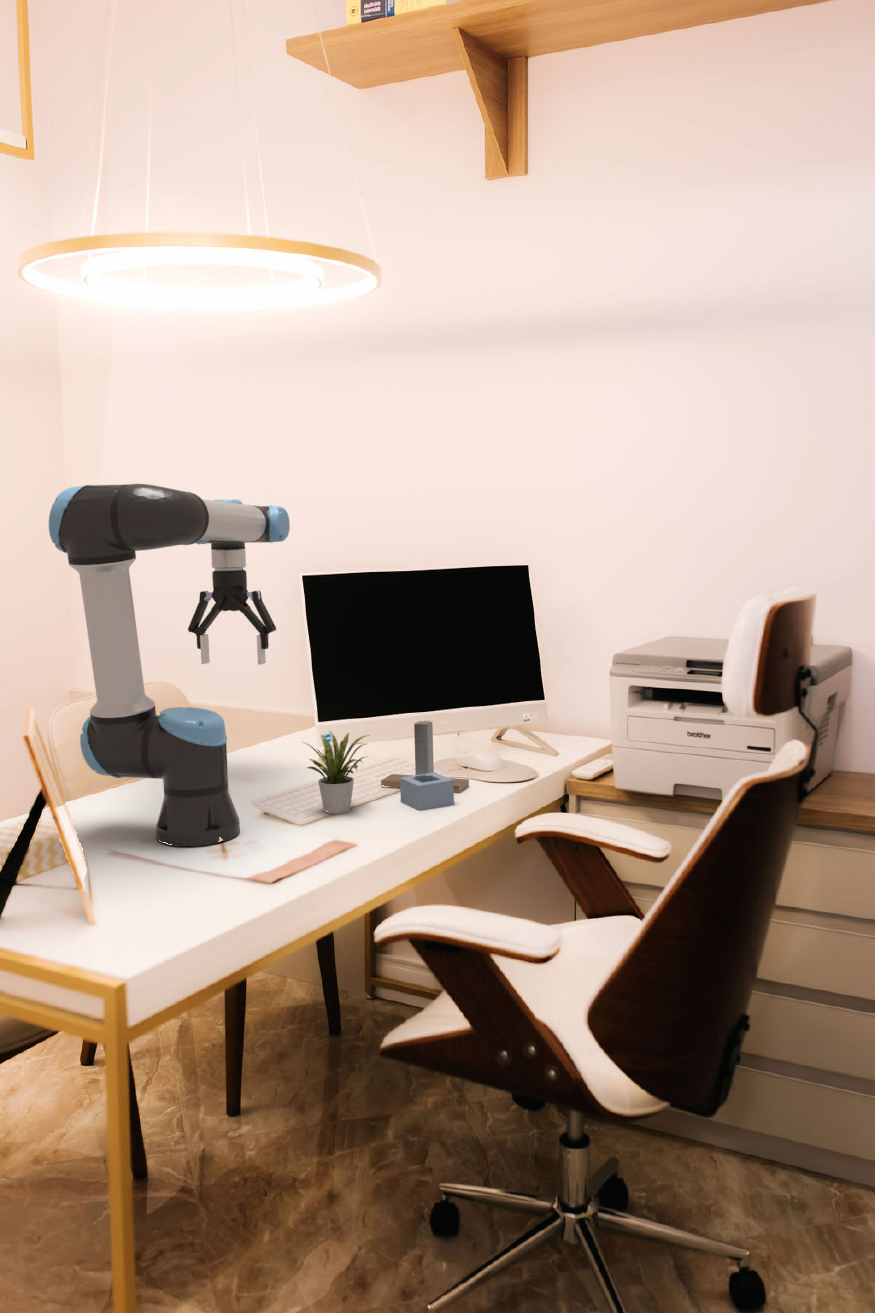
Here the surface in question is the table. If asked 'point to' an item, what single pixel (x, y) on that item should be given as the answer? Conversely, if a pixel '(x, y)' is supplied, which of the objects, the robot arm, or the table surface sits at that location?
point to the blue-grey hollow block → (427, 791)
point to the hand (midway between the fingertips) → (233, 663)
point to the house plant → (336, 775)
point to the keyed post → (423, 758)
